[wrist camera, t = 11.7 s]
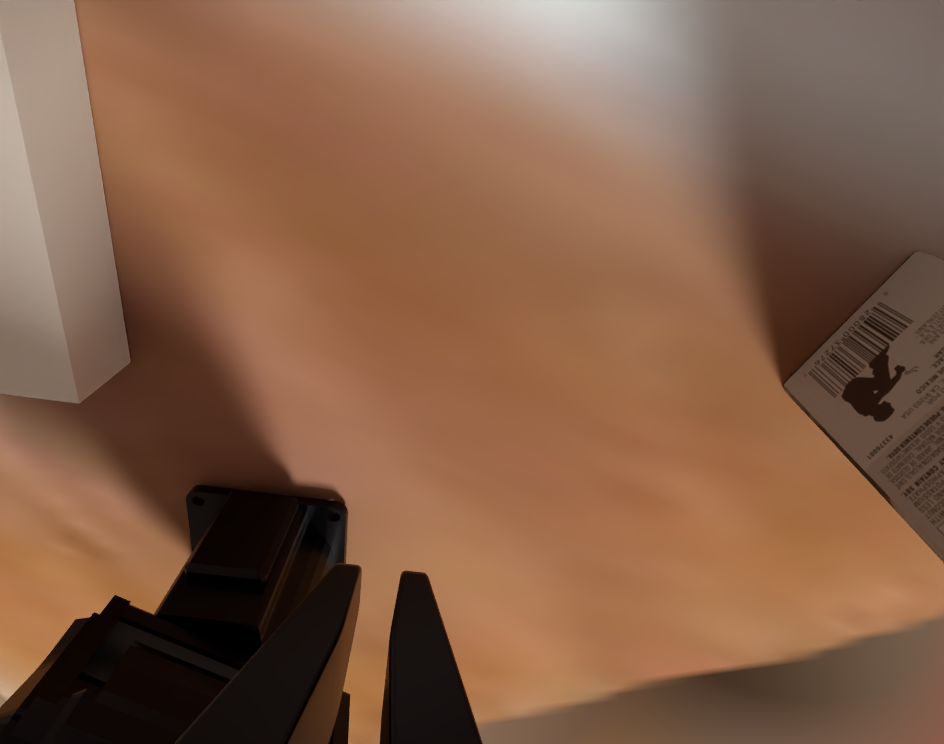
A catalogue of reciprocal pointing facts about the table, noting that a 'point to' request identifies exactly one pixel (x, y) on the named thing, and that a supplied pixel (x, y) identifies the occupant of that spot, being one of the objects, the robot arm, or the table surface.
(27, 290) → the mount block
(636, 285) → the table surface
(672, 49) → the table surface
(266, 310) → the table surface
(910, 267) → the coffee box
